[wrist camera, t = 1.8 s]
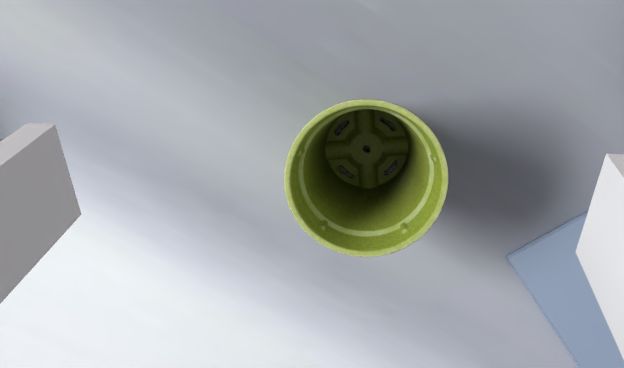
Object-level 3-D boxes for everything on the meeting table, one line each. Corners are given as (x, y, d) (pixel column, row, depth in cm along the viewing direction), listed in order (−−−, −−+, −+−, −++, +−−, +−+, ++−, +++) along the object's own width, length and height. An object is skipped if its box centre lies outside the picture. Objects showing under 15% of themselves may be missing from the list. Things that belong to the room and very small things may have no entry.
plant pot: (276, 157, 39) (252, 195, 31) (354, 53, 36) (350, 65, 28) (375, 230, 40) (377, 285, 32) (458, 135, 37) (484, 169, 29)
